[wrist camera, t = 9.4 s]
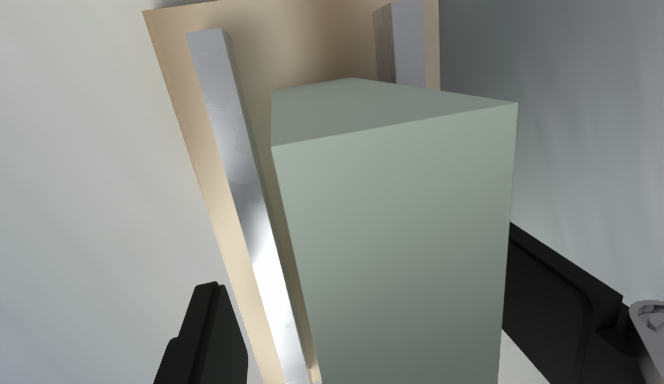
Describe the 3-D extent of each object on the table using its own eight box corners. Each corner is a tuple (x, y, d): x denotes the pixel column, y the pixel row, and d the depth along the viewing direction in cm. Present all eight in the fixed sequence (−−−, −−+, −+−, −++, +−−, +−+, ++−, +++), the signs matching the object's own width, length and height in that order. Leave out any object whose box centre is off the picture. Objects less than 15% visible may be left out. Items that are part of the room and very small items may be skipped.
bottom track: (425, -23, 12) (469, -49, 10) (437, 333, 19) (465, 378, 16) (152, 15, 11) (113, -1, 9) (267, 377, 18) (267, 434, 15)
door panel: (352, 77, 12) (518, 102, 4) (379, 322, 17) (483, 572, 8) (272, 90, 12) (270, 147, 4) (322, 336, 16) (372, 610, 8)
